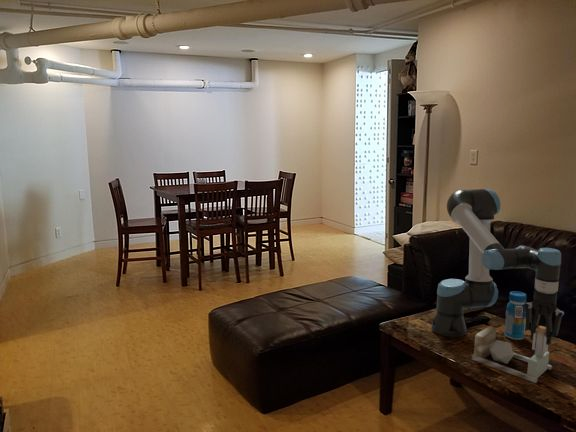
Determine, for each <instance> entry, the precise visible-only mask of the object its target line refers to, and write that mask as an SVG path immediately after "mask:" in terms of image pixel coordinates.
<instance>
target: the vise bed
mask: <svg viewBox="0 0 576 432" xmlns="http://www.w3.org/2000/svg"><path fill="white" fill-rule="evenodd" d="M496 333H497V328H496V327H495V328H494V327H492V326H487V327H486V328H484V329H483V330H481V331H479V332H477V333H476V334H475V335H474V346H473V354H472V355H471V360H473V361H475V362H478V363H480V364H483V365H485V366H486V365H487V366H488V367H492V368H493V369H497V370H499V371H502V372H505V373H508V374H510V375H512V376H516V377H519V378H521V379H524V380H526V381H530V382H531V383H534V384H537V383H538V378H539V377H538V378H536V377H533V376H530V375H527V373H525V372H522V371H519V370H516V369H514V368H511V367H508V366H505V365H504V364H503V365H502V364H499V363H497V362H495V361H492V360H489V359H487V358H486V357H488V356H490V355H491V352H490V348H491V347H492V345H493V344H494V343H495V342H496V336H497V335H496ZM513 353H514V355H513V357H512V358H515V359H517V360H520V361H522V362H524V363H528V360H529V359H530V358H531V357H528V356H525V355H522V354H519V353H516V352H513ZM552 367H553V365H551V364H549V363H548V369H547V370H549V371H551V370H552Z"/></svg>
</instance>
